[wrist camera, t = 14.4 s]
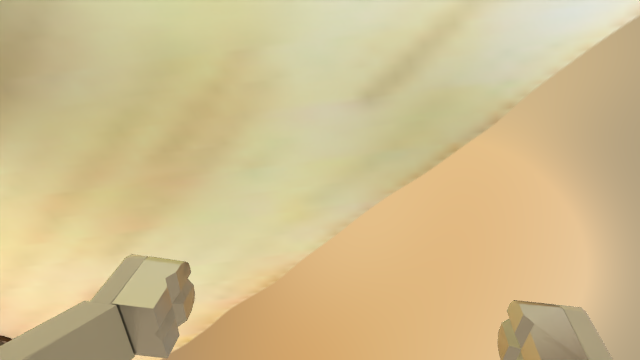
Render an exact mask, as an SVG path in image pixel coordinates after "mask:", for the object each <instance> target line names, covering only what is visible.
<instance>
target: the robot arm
mask: <svg viewBox="0 0 640 360" xmlns="http://www.w3.org/2000/svg"><path fill="white" fill-rule="evenodd" d="M190 273H191V270H190V266H189V263H187V262H184V261H178V260H171V259H164V258H157V257H148V256H141V255H134V254H131V255H129V256H128V257H126V258H125V259H124V260H123V261H122V263H121V264H120V265H119V266H118V268H117V269H116V270H115V271H114V273H113V274H112V275H111V276H110V277H109V279H108V280H107V281H106V282H105V284H104V285H103V286H102V287H101V289H100V290H99V291H98V292H97V293H96V295H95V296H94V297H93V298H92V300H91V301H83V302H81V303H79V304H78V305H76V306H74V307H72V308H70V309H68V310H66V311H65V312H63V313H61V314H59V315H57V316H55V317H53V318H52V319H50V320H48V321H46V322H44V323H42V324H40V325H38V326H37V327H35V328H33V329H31V330H29V331H27V332H25V333H24V334H22V335H20V336H18V337H16V338H14V339H12V340H10V341H9V342H7V343H5V344H3V345H1V346H0V360H131V359H132V358H134V357H135V356H134V355H142V356H151V357H160V358H168V356H169V354H170V352H171V351H172V349H173V347H174V345H175V343H176V341H177V339H178V337H179V332H178V326H180V325H181V324H183V323H184V322H185V321H187V319H188V317H189V315H190V313H191V311H192V307H193V303H194V296H195V291H194V285H193V284H192V283H191V282H190V281H189V280H188V277H189V275H190ZM507 313H508V315H509V319H508V320H506V321H504V322H503V323H502V324H501V326H500V329H499V332H498V351H499V355H500V358H501V360H613V358H612V357H611V355H610V353H609V352H608V350H607V348H606V346H605V344H604V343H603V341H602V339H601V337H600V336H599V334H598V332H597V330H596V329H595V327H594V325H593V323H592V322H591V320H590V318H589V316H588V314H587V313H586V311H585V310H583V309H582V308H580V307H571V306H562V305H554V304H544V303H536V302H525V301H517V300H514V301H512V302H511V303H510V305H509V307H508V309H507Z"/></svg>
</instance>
